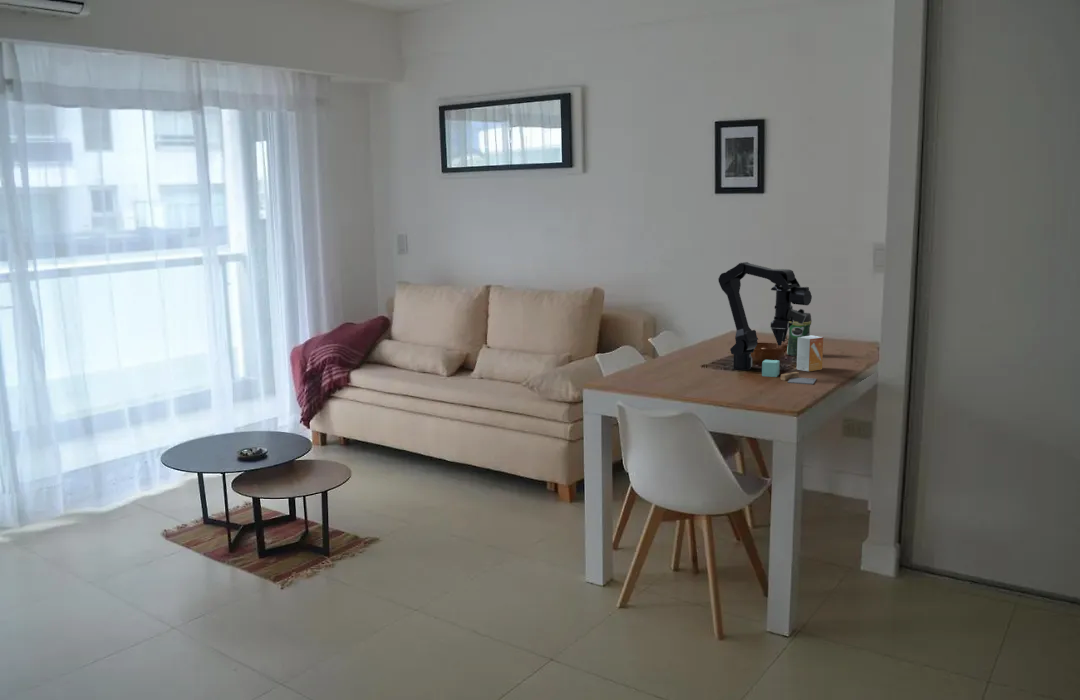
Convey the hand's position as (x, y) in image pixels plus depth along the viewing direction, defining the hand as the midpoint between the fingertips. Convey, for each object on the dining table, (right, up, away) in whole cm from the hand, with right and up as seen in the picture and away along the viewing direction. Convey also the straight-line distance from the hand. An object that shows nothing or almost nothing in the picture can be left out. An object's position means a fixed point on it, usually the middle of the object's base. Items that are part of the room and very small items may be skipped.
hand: (781, 343), depth 343 cm
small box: (+14, -10, +11) cm, 20 cm away
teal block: (-4, -12, +2) cm, 13 cm away
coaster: (+5, -14, -11) cm, 18 cm away
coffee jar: (+18, -5, +41) cm, 45 cm away
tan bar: (+1, -13, -6) cm, 15 cm away
